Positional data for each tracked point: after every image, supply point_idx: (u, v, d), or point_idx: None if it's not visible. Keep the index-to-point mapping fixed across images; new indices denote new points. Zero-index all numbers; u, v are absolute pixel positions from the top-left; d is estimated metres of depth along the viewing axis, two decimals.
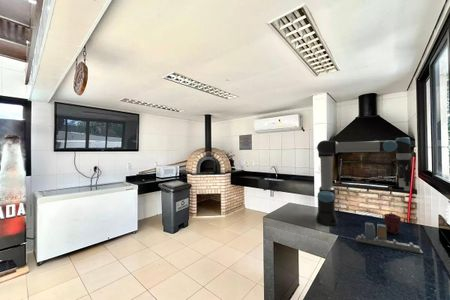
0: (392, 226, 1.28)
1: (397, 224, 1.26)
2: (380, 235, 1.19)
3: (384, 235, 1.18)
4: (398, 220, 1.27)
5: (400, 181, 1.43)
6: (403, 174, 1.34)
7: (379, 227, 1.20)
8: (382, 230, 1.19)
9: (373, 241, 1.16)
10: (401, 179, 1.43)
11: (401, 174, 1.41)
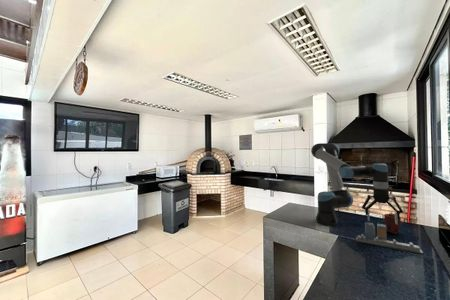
0: (392, 226, 1.28)
1: None
2: (380, 235, 1.19)
3: (384, 235, 1.18)
4: (398, 220, 1.27)
5: (395, 216, 1.18)
6: None
7: (379, 227, 1.20)
8: (382, 230, 1.19)
9: (373, 241, 1.16)
10: (395, 214, 1.18)
11: (391, 207, 1.19)
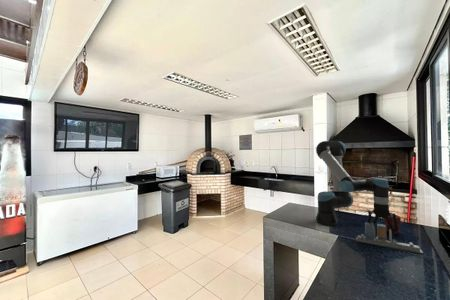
0: (392, 226, 1.28)
1: (397, 224, 1.26)
2: (380, 235, 1.19)
3: (384, 235, 1.18)
4: (398, 220, 1.27)
5: (389, 233, 1.20)
6: (374, 219, 1.24)
7: (379, 227, 1.20)
8: (382, 230, 1.19)
9: (373, 241, 1.16)
10: (389, 231, 1.19)
11: None
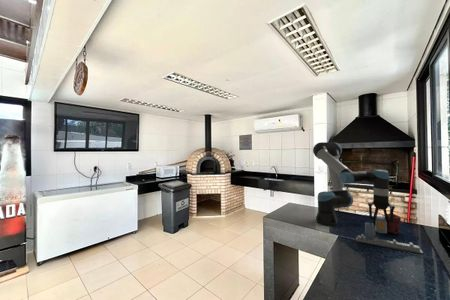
0: (392, 226, 1.28)
1: (397, 224, 1.26)
2: (379, 227, 1.20)
3: (383, 227, 1.19)
4: (398, 220, 1.26)
5: None
6: (375, 211, 1.24)
7: (378, 219, 1.21)
8: (381, 222, 1.19)
9: (373, 241, 1.16)
10: None
11: (384, 214, 1.21)
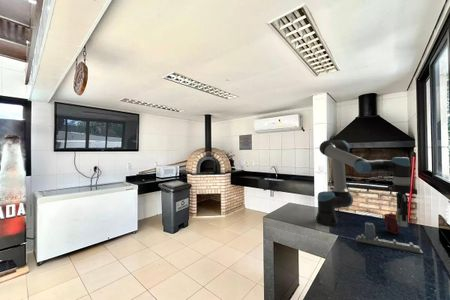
0: (392, 226, 1.28)
1: (397, 224, 1.26)
2: (396, 218, 1.12)
3: (396, 218, 1.10)
4: None
5: None
6: None
7: (397, 210, 1.12)
8: (396, 213, 1.11)
9: (373, 241, 1.16)
10: None
11: None
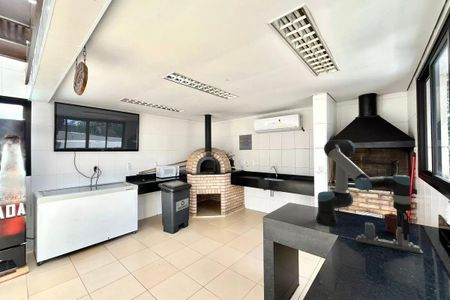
0: (392, 226, 1.28)
1: None
2: (396, 236, 1.12)
3: (397, 237, 1.11)
4: None
5: None
6: None
7: (397, 228, 1.12)
8: (396, 231, 1.11)
9: (373, 241, 1.16)
10: None
11: None
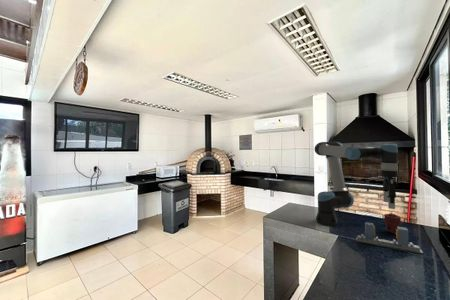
0: (392, 226, 1.28)
1: (397, 224, 1.26)
2: (396, 236, 1.12)
3: (397, 237, 1.11)
4: (398, 220, 1.26)
5: None
6: None
7: (397, 228, 1.12)
8: (396, 231, 1.11)
9: (373, 241, 1.16)
10: None
11: None
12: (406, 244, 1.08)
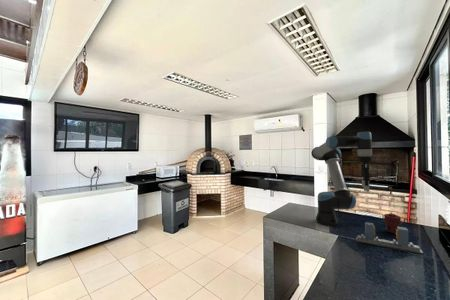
0: (392, 226, 1.28)
1: (397, 224, 1.26)
2: (396, 236, 1.12)
3: (397, 237, 1.11)
4: (398, 220, 1.27)
5: None
6: None
7: (397, 228, 1.12)
8: (396, 231, 1.11)
9: (373, 241, 1.16)
10: None
11: None
12: (406, 244, 1.08)
